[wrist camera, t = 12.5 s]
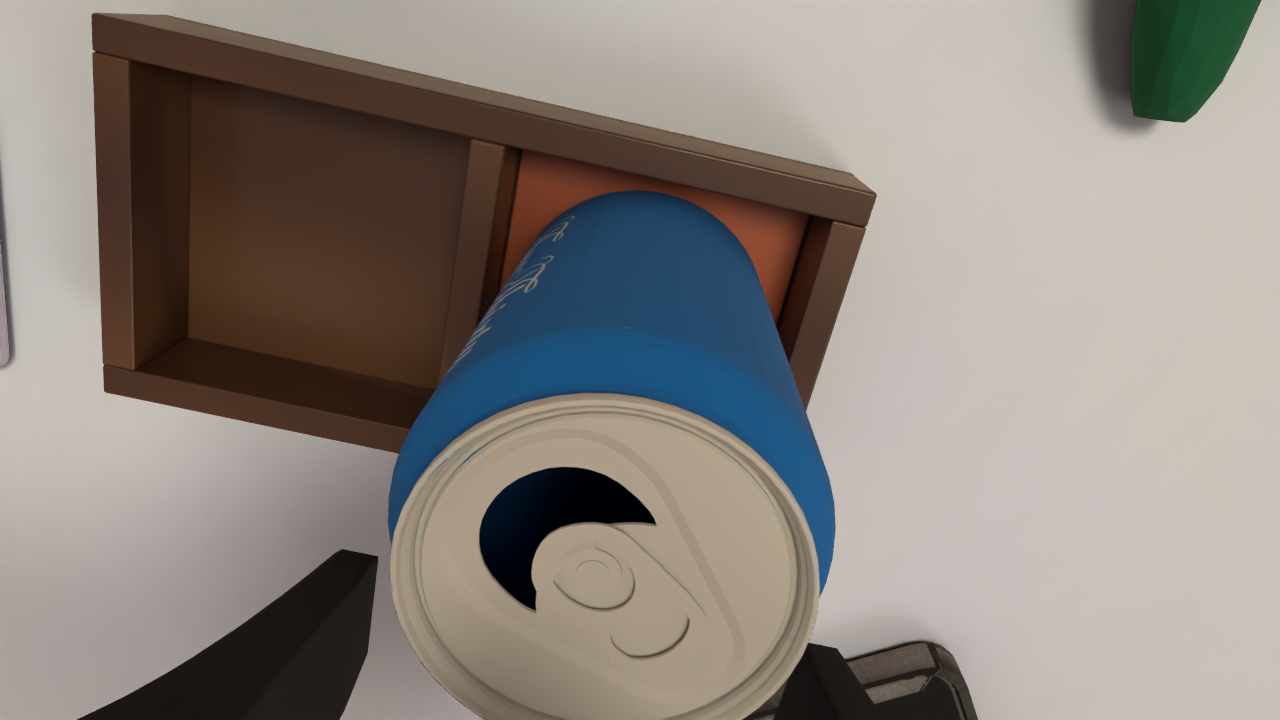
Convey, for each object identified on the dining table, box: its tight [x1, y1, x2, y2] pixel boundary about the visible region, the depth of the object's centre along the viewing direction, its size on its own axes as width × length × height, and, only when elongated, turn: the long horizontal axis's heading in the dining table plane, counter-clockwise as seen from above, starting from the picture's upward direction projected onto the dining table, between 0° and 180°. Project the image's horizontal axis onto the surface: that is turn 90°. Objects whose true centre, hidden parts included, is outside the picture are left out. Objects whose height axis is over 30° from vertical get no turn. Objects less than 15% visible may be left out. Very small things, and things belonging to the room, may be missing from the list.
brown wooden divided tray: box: [92, 13, 877, 453], centre depth 21 cm, size 9×17×3 cm, turn 78°
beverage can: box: [388, 190, 835, 720], centre depth 16 cm, size 6×6×12 cm
